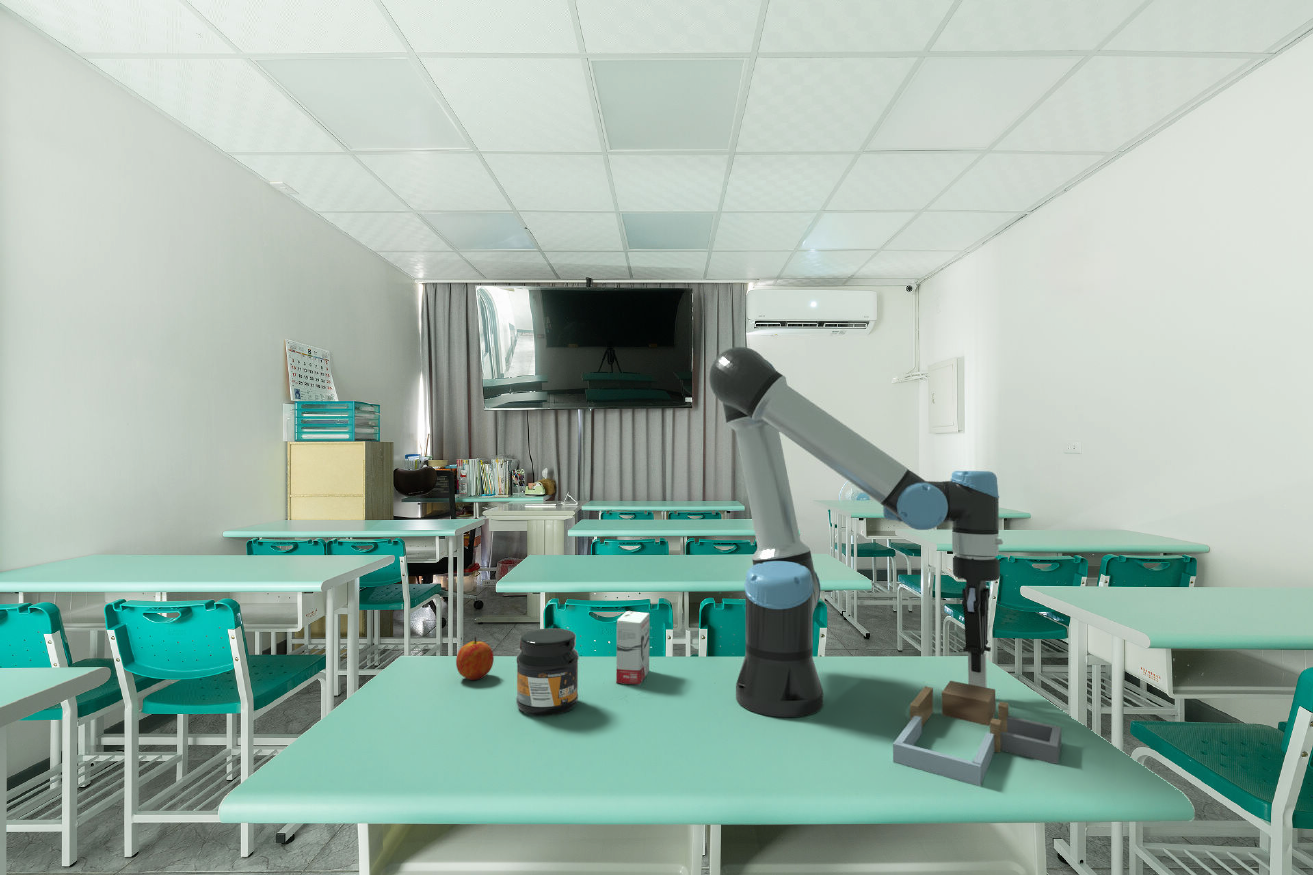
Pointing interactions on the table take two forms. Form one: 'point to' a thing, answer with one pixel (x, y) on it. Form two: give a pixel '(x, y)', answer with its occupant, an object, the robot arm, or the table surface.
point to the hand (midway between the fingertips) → (977, 688)
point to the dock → (942, 756)
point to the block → (969, 702)
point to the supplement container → (547, 672)
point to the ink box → (632, 647)
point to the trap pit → (1032, 739)
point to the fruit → (474, 660)
